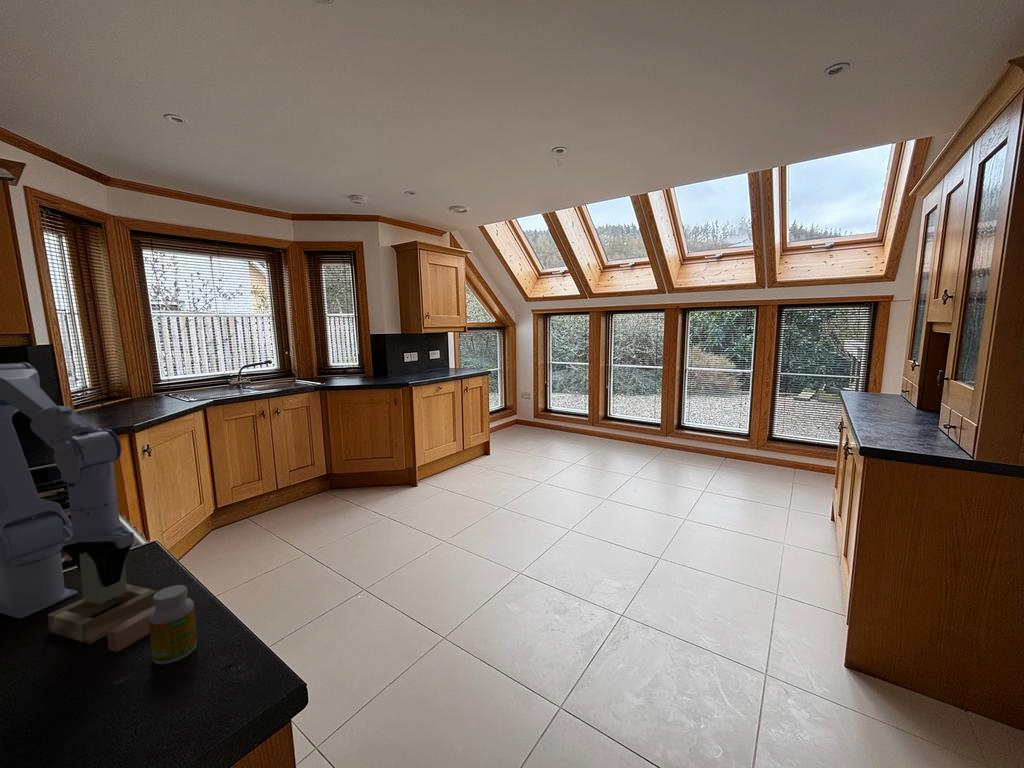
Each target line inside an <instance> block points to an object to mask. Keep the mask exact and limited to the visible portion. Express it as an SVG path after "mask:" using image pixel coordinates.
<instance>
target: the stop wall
mask: <svg viewBox="0 0 1024 768" xmlns="http://www.w3.org/2000/svg"><path fill="white" fill-rule="evenodd" d="M154 608H155V607H154V606H153V607H151V608H149V609H147V610H145V611H143V612H141V613H140V614H138V615H136V616H134V617H132V618H130V619H128V620H127V621H125V622H123V623H121V624H119V625H117V626H115V627H113V628H112V629H110V630H108V631H107V635H106V637H107V638H106V639H107V647H108V651H112V652H115V653H119V652H120V651H122V650H123V649H125V648H127V647H129V646H130V645H132V644H133V643H136V642H137V641H139V640H141V639H142V638H144V637H145V636H148V635H149V634H150V628H149V614H150V612H151V611H152V610H153V609H154Z"/></svg>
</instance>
